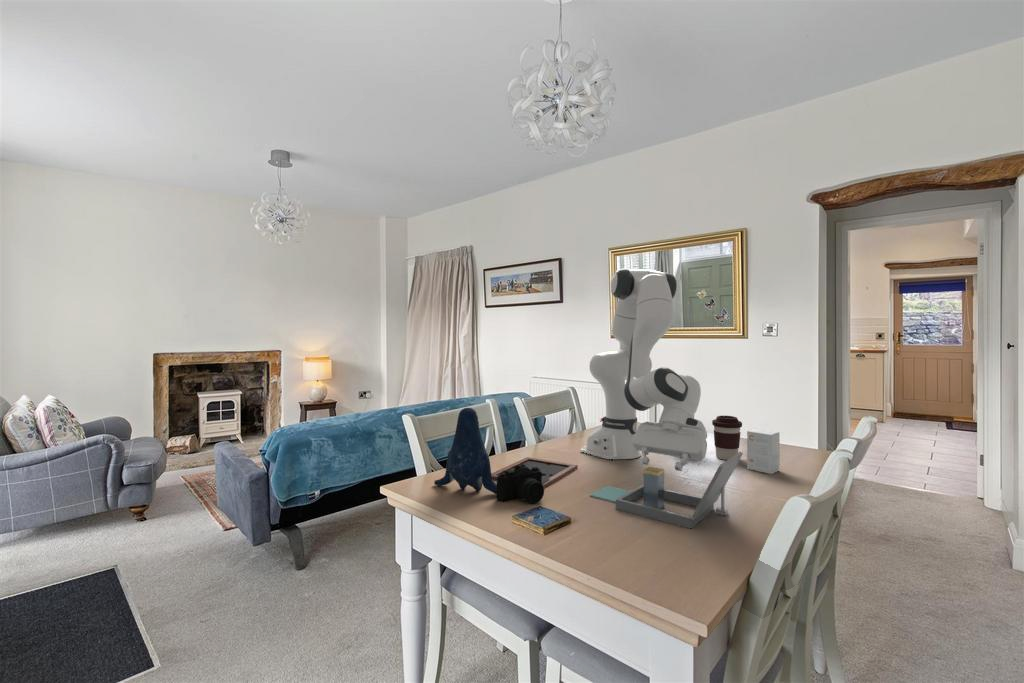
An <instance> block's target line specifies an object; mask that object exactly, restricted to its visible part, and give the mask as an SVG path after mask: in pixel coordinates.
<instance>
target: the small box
mask: <svg viewBox="0 0 1024 683" xmlns="http://www.w3.org/2000/svg"><path fill="white" fill-rule="evenodd" d="M780 438H781V437H780V431H773V430H766V429H761V428H760V429H758V428H753V429H749V430H747V431H746V469H747V470H749V469H750V471H754V470H755V472H759V473H763V472H764V473H765V474H768V475H774V474H775V472H776V473H778V472H779V471H780V469H781V468H780V465H781V464H780V456H781V455H780V454H781V453H780V448H781V447H780ZM777 471H778V472H777Z"/></svg>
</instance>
